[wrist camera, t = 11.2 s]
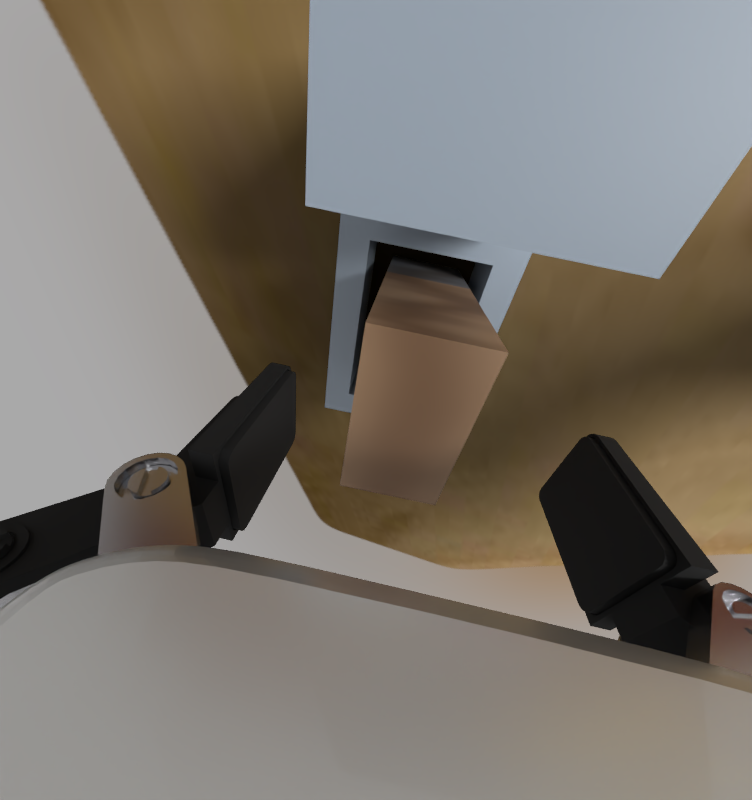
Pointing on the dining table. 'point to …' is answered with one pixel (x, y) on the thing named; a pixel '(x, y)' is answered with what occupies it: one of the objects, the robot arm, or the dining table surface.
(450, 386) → the wooden rectangular block
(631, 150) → the blue stepped tray
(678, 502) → the dining table surface
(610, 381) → the dining table surface
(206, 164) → the dining table surface
